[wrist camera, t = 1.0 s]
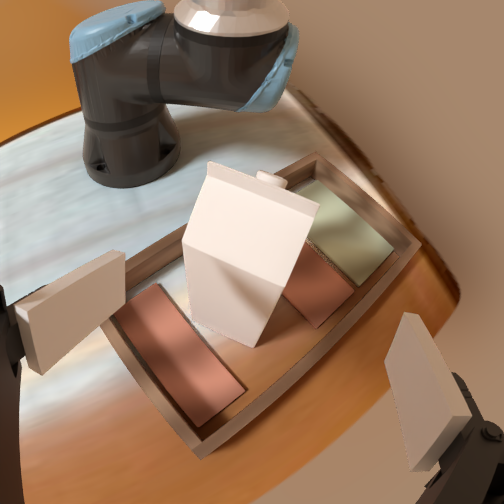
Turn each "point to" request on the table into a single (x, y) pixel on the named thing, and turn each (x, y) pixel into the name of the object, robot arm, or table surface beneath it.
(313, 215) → the milk carton
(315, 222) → the box
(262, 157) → the table surface
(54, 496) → the table surface
